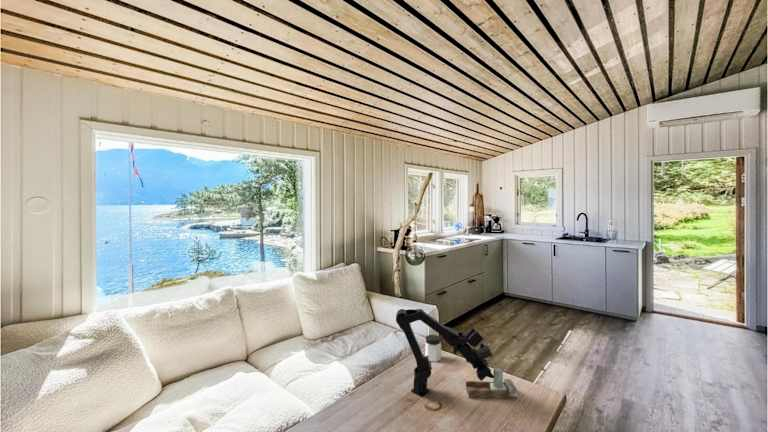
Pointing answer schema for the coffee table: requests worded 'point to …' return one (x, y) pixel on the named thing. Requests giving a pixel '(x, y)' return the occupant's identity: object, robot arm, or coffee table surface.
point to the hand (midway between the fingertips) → (493, 377)
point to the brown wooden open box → (484, 391)
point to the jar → (433, 348)
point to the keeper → (498, 380)
